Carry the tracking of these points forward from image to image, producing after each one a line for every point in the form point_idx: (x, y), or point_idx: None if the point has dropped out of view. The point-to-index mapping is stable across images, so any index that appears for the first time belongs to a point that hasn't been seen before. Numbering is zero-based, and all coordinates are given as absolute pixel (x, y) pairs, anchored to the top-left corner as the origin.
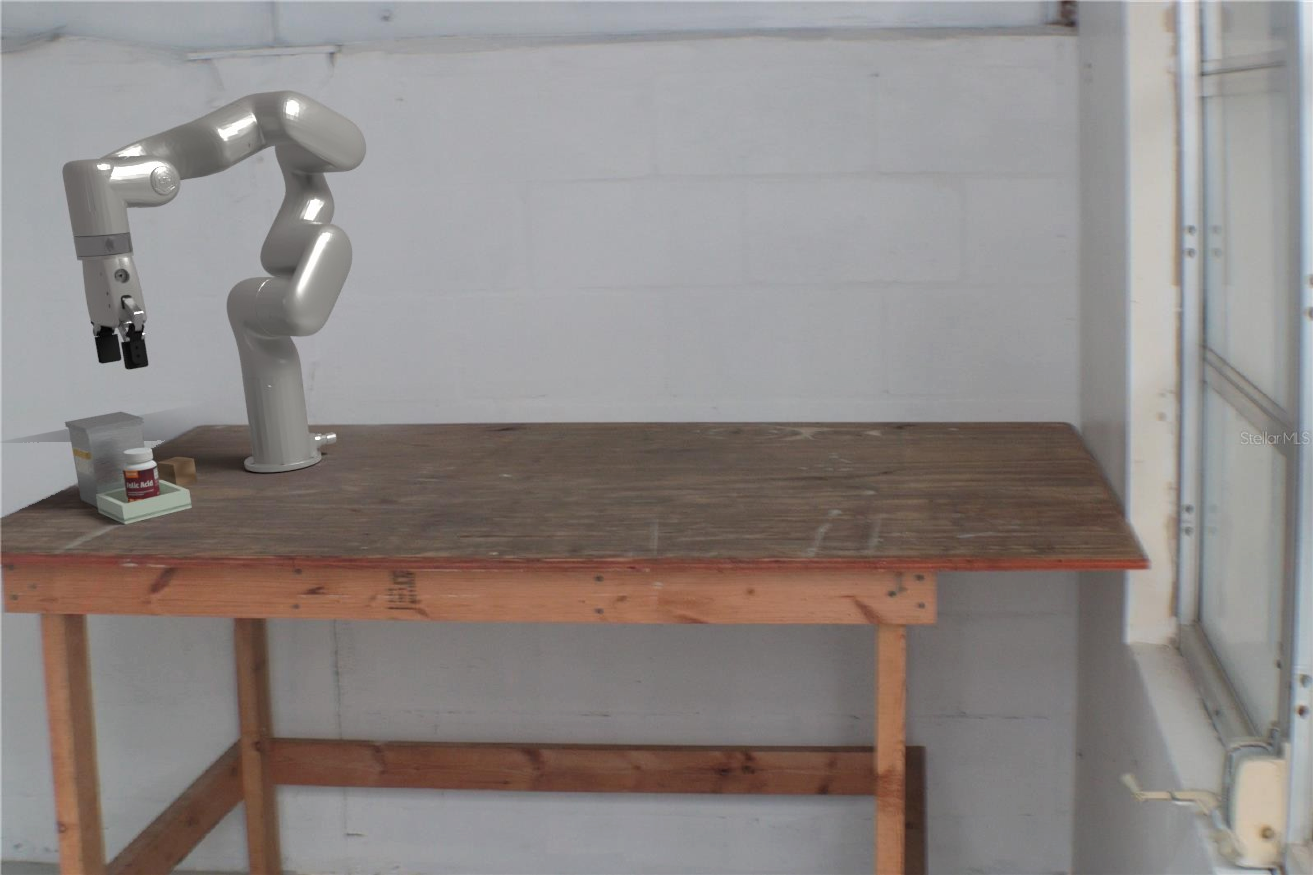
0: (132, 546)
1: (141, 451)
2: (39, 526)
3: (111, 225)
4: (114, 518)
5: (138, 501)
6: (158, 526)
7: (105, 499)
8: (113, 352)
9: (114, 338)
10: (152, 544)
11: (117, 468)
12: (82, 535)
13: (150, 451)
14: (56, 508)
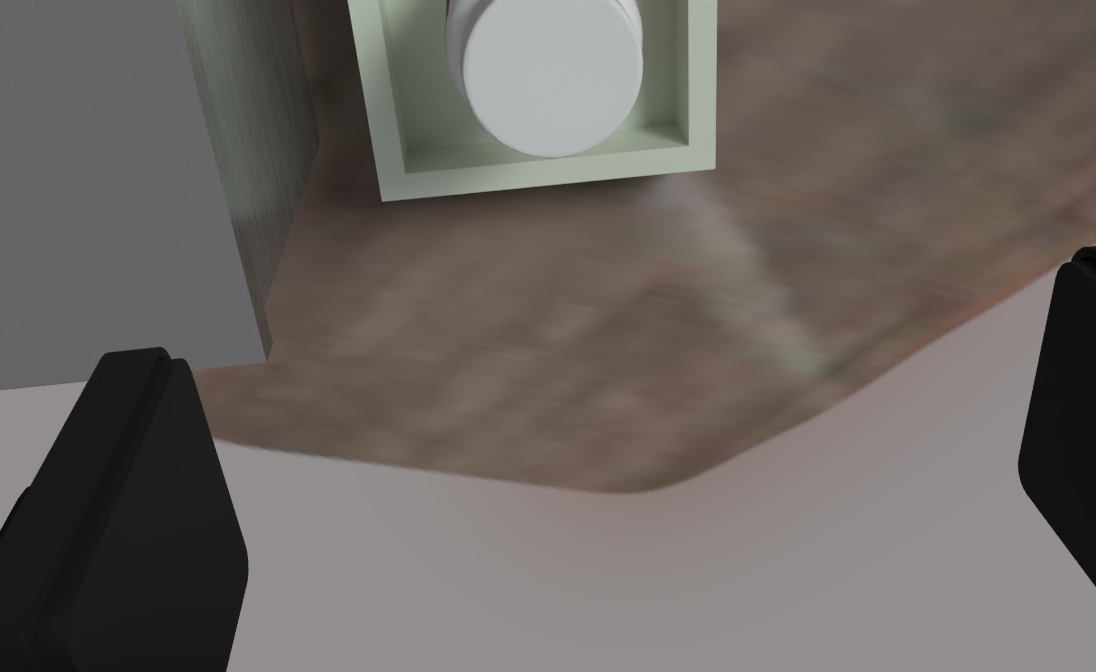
0: (1028, 202)
1: (595, 58)
2: (417, 385)
3: None
4: None
5: (707, 88)
6: (861, 36)
7: (508, 188)
8: (184, 507)
9: (96, 636)
10: (1082, 138)
11: (266, 89)
12: (698, 299)
13: (617, 2)
14: None
